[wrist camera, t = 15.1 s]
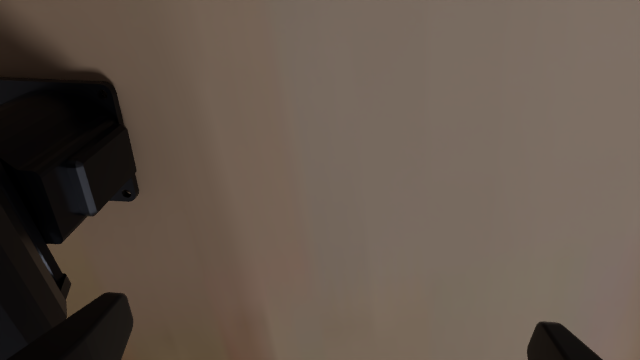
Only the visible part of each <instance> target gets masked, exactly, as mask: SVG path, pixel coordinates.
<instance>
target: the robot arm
mask: <svg viewBox="0 0 640 360" xmlns="http://www.w3.org/2000/svg"><path fill="white" fill-rule="evenodd" d="M101 89H102V90H104V91H105V92H106V93H107V97H105V96H104V95H103V94H102V93H101ZM135 172H136V166H135V161H134V157H133V152H132V148H131V143H130V139H129V135H128V130H127V128H126V127H125V126H124V123H123V119H122V115H121V110H120V106H119V101H118V97H117V93H116V90H115V88H114V87H113V86H112V85H111V84H109V83H107V82H100V81H76V80H52V79H28V78H4V77H0V360H121V358H122V356H123V353H124V350H125V347H126V345H127V342H128V339H129V336H130V334H131V331H132V327H133V317H132V313H131V310H130V306H129V303H128V299H127V297H126V295H125V294H123V293H112V292H108V293H104V294H102V295H101V296H99V297H98V298H96V299H95V300H93V301H92V302H91V303H89V304H88V305H86V306H85V307H83V308H82V309H80V310H79V311H77V312H76V313H74V314H73V315H71V316H70V317H68V318H67V308H66V298H67V295H68V292H69V289H70V286H71V282H70V281H69V279H68V277H67V275H66V274H64V273H62V272H61V270H60V268H59V266H58V265H57V263H56V261H55V259H54V257H53V256H52V254H51V252H50V250H49V248H48V247H47V245H46V244H61V243H62V242H63V241H64V240H65V239H66V238H67V237H68V236H69V235H70V234H71V233H72V232H73V231H74V230H75V229H76V228H77V227H78V226H79V225H80V224H81V223H82V222H83V220H84V219H85V218H86V217H87V216H95V215H96V214H97V213H98V212H99V211H100V210H101V209H102V207H103V206H104V205H105V204H106V203H107V202H108V201H127V202H129V201H133V200H134V199H135V198H136V197H137V196H138V194H139V189H138V184H137V180H136V176H135ZM126 190H128V191H130V193H131V194H129V193H127V192H126ZM66 318H67V319H66ZM527 357H528V360H602V359H601V358H600V357H599V356H598V355H597V354H596V353H594V352H593V351H592V350H591V349H590V348H589V347H587V346H586V345H585V344H584V343H583V342H582V341H580V340H579V339H578V338H577V337H576V336H575V335H573V334H572V333H571V332H570V331H569V330H568V329H567V328H565V327H564V326H563V325H561V324H560V323H556V322H539V323H538V324H537V325H536V327H535V330H534V332H533V335H532V337H531V340H530V342H529V344H528V348H527Z"/></svg>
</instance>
